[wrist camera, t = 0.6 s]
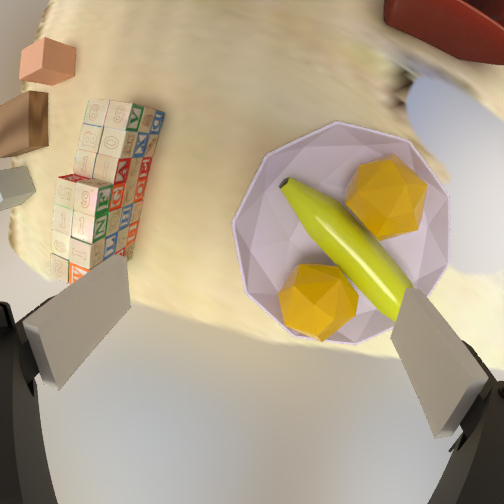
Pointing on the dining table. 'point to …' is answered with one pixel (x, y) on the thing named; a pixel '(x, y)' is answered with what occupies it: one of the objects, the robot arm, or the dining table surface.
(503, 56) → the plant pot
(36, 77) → the terracotta block
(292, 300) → the fruit bowl
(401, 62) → the dining table surface
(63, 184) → the stack of blocks
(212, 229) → the dining table surface
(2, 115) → the walnut base
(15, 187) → the greyblue block
